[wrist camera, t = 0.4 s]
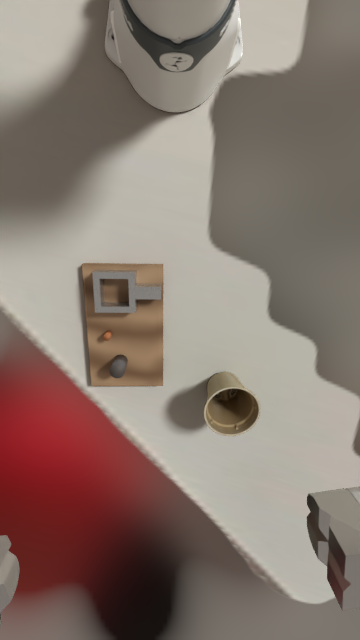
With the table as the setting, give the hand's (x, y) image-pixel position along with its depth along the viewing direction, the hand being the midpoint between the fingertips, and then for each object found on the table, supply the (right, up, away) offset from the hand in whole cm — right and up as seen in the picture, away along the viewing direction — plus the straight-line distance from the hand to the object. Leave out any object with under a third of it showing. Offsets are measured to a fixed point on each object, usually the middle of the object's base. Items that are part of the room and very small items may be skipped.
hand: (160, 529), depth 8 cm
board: (-9, +5, +45) cm, 46 cm away
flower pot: (+9, -7, +49) cm, 50 cm away
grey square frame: (-8, +11, +41) cm, 43 cm away
